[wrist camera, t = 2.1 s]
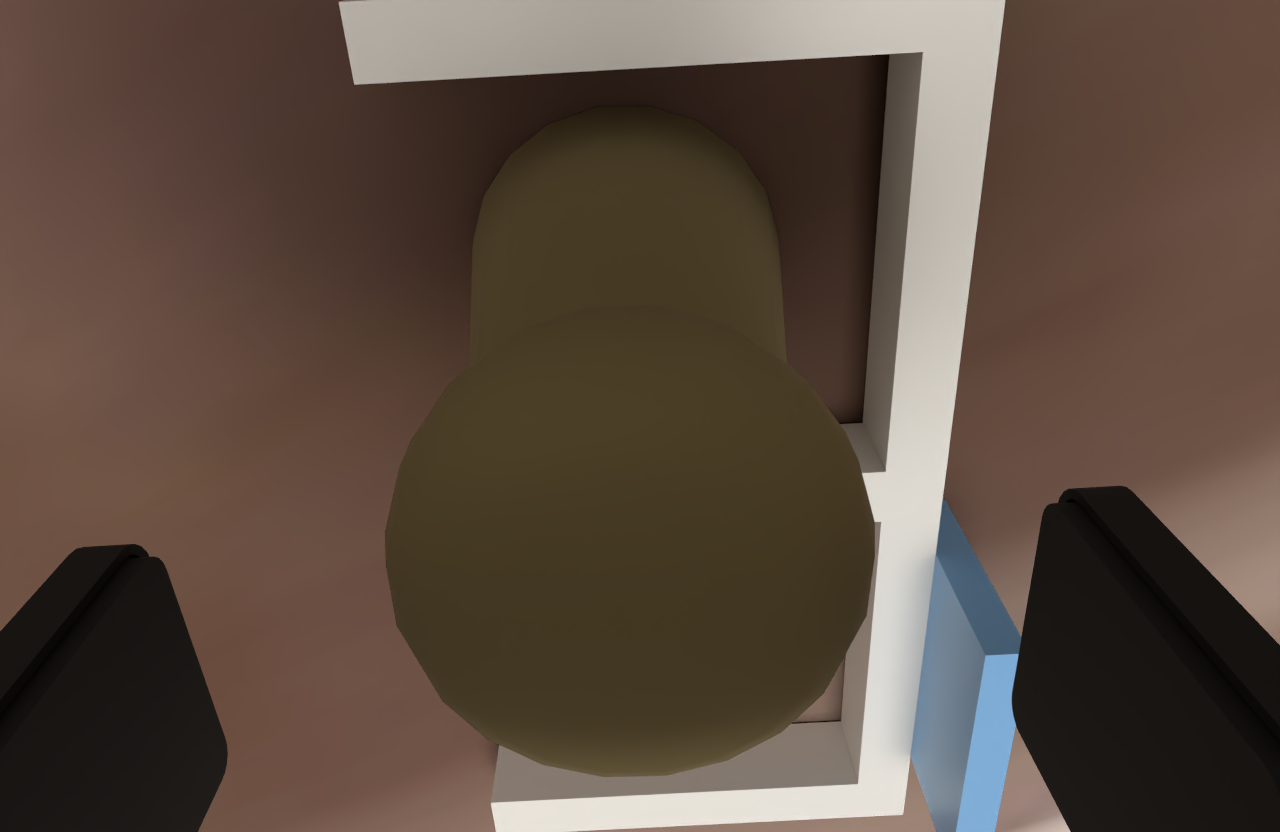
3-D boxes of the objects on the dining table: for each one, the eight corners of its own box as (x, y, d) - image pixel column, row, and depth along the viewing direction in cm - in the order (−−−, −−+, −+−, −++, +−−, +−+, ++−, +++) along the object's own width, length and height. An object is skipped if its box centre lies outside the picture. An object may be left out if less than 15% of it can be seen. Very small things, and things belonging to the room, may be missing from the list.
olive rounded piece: (463, 380, 19) (309, 842, 10) (483, 81, 17) (291, 314, 7) (745, 415, 20) (863, 885, 10) (811, 130, 17) (1059, 412, 7)
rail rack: (369, -8, 16) (273, 22, 11) (1013, -46, 16) (1165, -30, 11) (505, 770, 25) (481, 953, 21) (912, 749, 25) (975, 928, 21)
